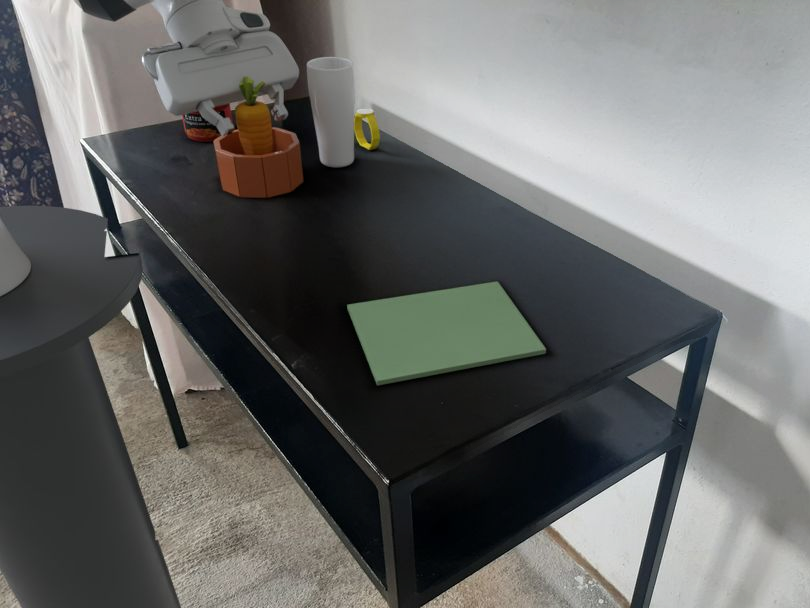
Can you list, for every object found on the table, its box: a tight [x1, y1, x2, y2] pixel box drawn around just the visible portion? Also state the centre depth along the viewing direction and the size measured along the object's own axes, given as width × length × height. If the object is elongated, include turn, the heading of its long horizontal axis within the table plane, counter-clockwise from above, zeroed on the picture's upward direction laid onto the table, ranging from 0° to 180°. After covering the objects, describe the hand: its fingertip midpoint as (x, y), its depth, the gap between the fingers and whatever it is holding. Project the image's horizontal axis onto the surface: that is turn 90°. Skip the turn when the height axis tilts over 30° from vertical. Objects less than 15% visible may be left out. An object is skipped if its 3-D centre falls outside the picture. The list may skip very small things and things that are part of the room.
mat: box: [346, 281, 547, 386], centre depth 78 cm, size 18×14×1 cm
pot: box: [213, 126, 304, 199], centre depth 106 cm, size 12×12×6 cm
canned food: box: [181, 103, 234, 143], centre depth 118 cm, size 8×8×11 cm
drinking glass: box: [306, 56, 356, 169], centre depth 109 cm, size 7×7×15 cm
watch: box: [354, 108, 381, 151], centre depth 117 cm, size 6×3×6 cm, turn 37°
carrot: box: [234, 76, 273, 155], centre depth 103 cm, size 5×5×15 cm
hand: (256, 125), depth 102 cm, fingers open, 7 cm apart
